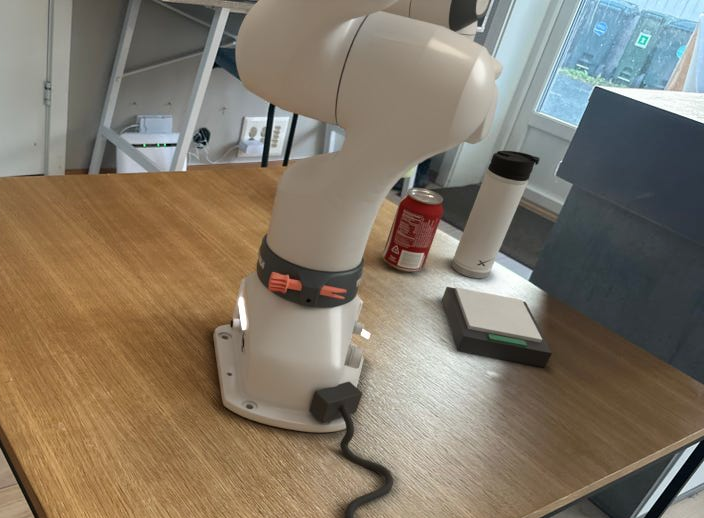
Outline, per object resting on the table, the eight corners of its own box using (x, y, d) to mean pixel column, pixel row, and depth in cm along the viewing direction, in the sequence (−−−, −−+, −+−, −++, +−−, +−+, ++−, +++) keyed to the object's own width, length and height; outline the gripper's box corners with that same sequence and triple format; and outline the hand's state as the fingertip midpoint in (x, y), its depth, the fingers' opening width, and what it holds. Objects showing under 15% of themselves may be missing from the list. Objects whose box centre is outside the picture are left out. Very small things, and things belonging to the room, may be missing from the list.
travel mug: (485, 283, 113) (535, 163, 102) (446, 268, 116) (491, 149, 104) (494, 271, 118) (543, 155, 107) (456, 257, 120) (501, 142, 109)
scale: (544, 367, 95) (554, 349, 93) (457, 350, 95) (465, 332, 93) (519, 315, 106) (527, 298, 104) (441, 300, 106) (448, 282, 104)
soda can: (423, 278, 111) (448, 207, 105) (380, 268, 112) (403, 197, 105) (421, 260, 117) (445, 192, 110) (381, 251, 117) (403, 182, 111)
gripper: (352, 32, 93) (326, 135, 101) (502, 73, 85) (461, 183, 93) (371, 29, 98) (346, 129, 105) (515, 69, 90) (476, 174, 97)
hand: (401, 155), depth 99 cm, fingers closed on candle, 3 cm apart
